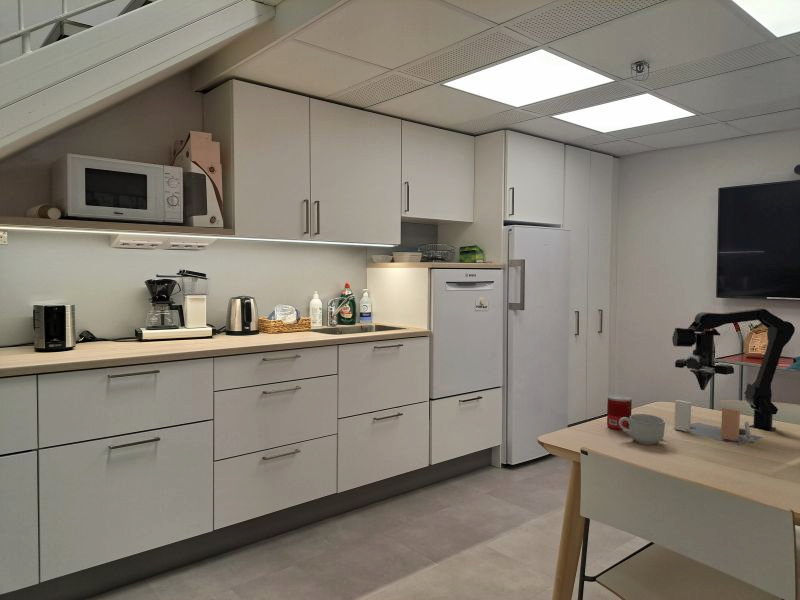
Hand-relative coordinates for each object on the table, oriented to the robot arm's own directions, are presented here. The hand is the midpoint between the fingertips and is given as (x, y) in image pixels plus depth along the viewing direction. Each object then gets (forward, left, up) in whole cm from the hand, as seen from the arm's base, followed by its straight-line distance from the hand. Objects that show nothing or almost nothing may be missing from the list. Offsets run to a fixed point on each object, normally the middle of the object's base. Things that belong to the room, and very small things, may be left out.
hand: (702, 390), depth 205 cm
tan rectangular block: (+13, +16, -12) cm, 24 cm away
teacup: (+37, 0, -13) cm, 39 cm away
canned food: (+29, -14, -13) cm, 35 cm away
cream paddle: (+16, +2, -12) cm, 20 cm away
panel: (+9, +10, -13) cm, 19 cm away
